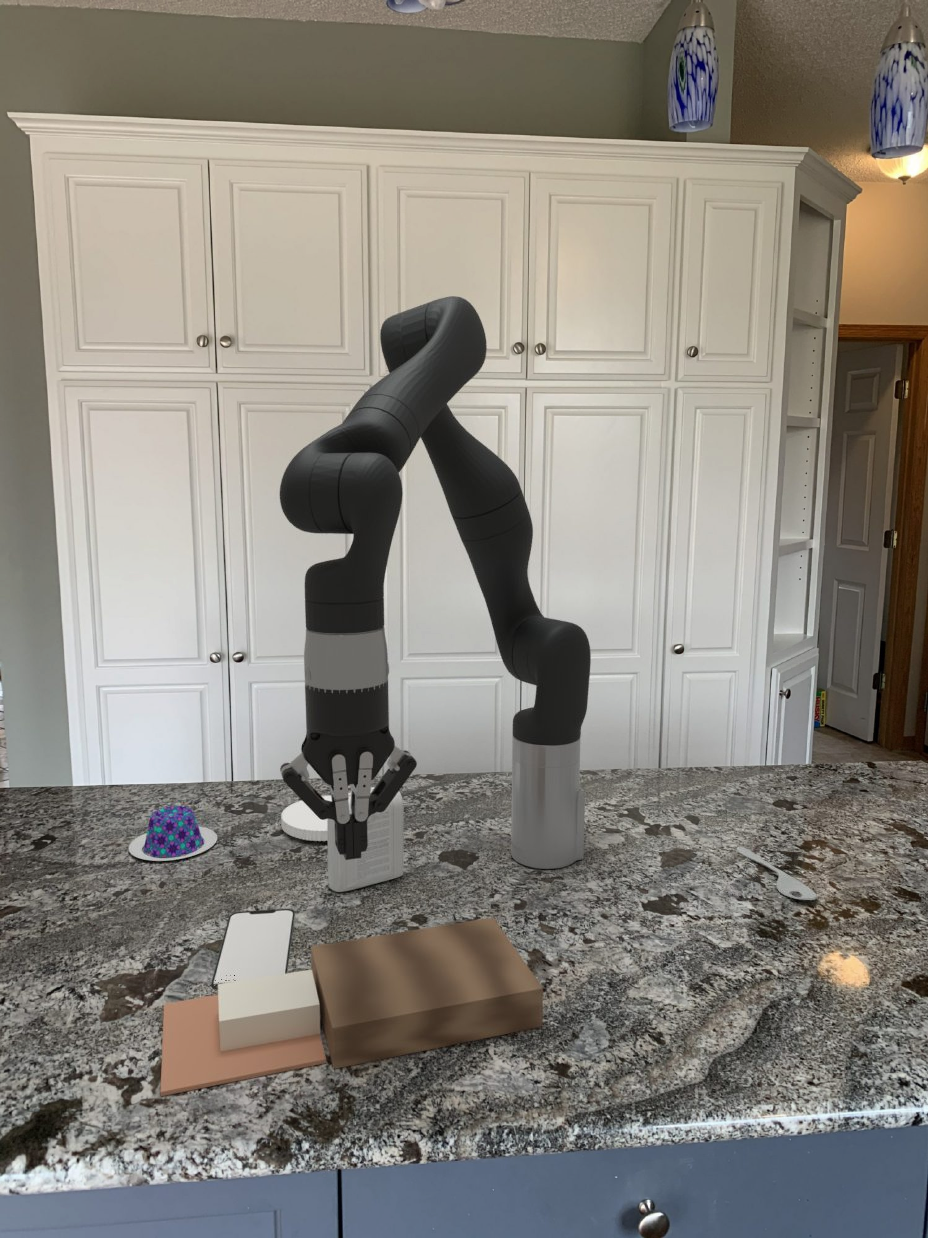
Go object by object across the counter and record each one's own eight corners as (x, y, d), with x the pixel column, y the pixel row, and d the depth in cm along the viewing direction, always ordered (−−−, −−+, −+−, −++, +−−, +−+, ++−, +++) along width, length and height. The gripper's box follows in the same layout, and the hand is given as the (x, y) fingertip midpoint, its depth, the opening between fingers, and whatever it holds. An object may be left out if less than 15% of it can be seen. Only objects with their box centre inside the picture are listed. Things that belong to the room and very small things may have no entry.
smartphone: (286, 990, 89) (296, 912, 105) (286, 985, 89) (296, 908, 105) (208, 995, 88) (229, 915, 104) (208, 990, 88) (229, 911, 104)
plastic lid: (363, 805, 139) (362, 790, 138) (386, 839, 126) (386, 823, 126) (274, 817, 134) (274, 802, 134) (290, 854, 121) (289, 837, 121)
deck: (493, 951, 96) (493, 917, 95) (542, 1026, 83) (543, 988, 82) (311, 982, 90) (310, 946, 89) (333, 1069, 77) (332, 1028, 76)
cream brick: (312, 997, 86) (311, 969, 86) (320, 1033, 81) (319, 1004, 80) (219, 1012, 84) (217, 984, 83) (220, 1051, 78) (219, 1021, 78)
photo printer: (393, 865, 117) (392, 777, 115) (409, 877, 114) (408, 787, 112) (323, 884, 111) (320, 792, 109) (337, 897, 108) (335, 803, 106)
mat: (306, 983, 90) (306, 979, 90) (326, 1063, 77) (326, 1059, 77) (164, 1007, 85) (164, 1004, 85) (160, 1096, 73) (160, 1092, 73)
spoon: (796, 912, 105) (797, 899, 105) (716, 842, 125) (716, 832, 125) (827, 908, 106) (828, 896, 106) (742, 840, 126) (743, 829, 126)
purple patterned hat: (109, 857, 120) (107, 822, 119) (167, 825, 131) (166, 792, 130) (180, 872, 115) (178, 834, 115) (234, 837, 127) (233, 803, 126)
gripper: (407, 663, 84) (409, 831, 87) (268, 672, 80) (275, 849, 83) (428, 680, 77) (429, 863, 80) (277, 692, 73) (284, 884, 76)
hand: (351, 855), depth 81 cm, fingers closed
